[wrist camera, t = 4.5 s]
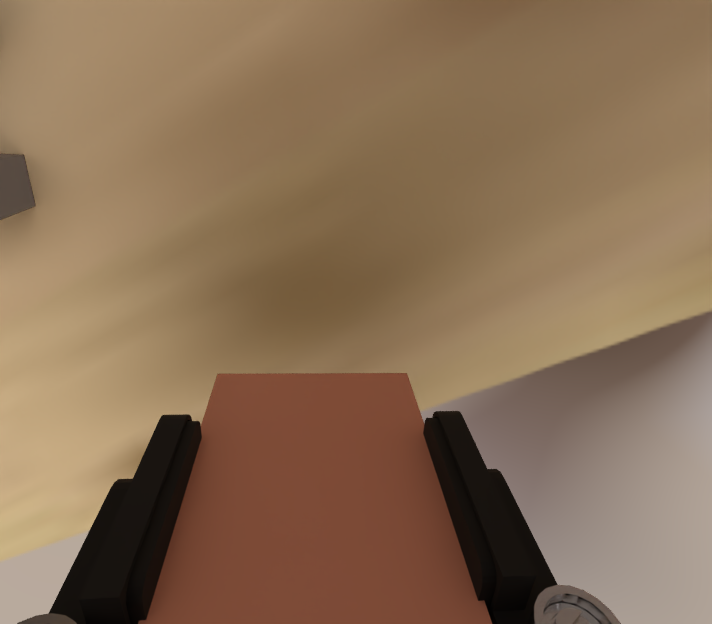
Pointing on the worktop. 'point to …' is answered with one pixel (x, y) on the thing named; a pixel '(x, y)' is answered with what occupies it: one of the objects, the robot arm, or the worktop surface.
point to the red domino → (314, 510)
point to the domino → (14, 185)
